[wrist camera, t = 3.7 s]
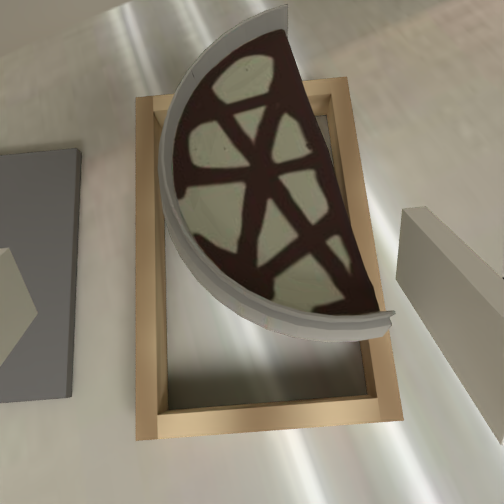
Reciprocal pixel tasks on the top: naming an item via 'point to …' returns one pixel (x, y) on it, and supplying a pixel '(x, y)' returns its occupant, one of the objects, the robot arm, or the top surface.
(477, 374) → the robot arm
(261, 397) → the top surface
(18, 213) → the charcoal mat
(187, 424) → the oak frame
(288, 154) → the food container
